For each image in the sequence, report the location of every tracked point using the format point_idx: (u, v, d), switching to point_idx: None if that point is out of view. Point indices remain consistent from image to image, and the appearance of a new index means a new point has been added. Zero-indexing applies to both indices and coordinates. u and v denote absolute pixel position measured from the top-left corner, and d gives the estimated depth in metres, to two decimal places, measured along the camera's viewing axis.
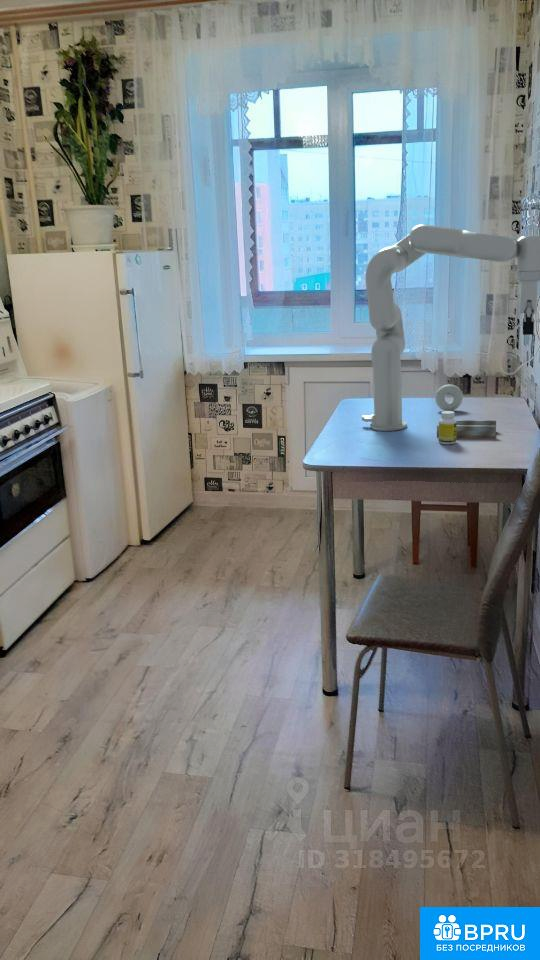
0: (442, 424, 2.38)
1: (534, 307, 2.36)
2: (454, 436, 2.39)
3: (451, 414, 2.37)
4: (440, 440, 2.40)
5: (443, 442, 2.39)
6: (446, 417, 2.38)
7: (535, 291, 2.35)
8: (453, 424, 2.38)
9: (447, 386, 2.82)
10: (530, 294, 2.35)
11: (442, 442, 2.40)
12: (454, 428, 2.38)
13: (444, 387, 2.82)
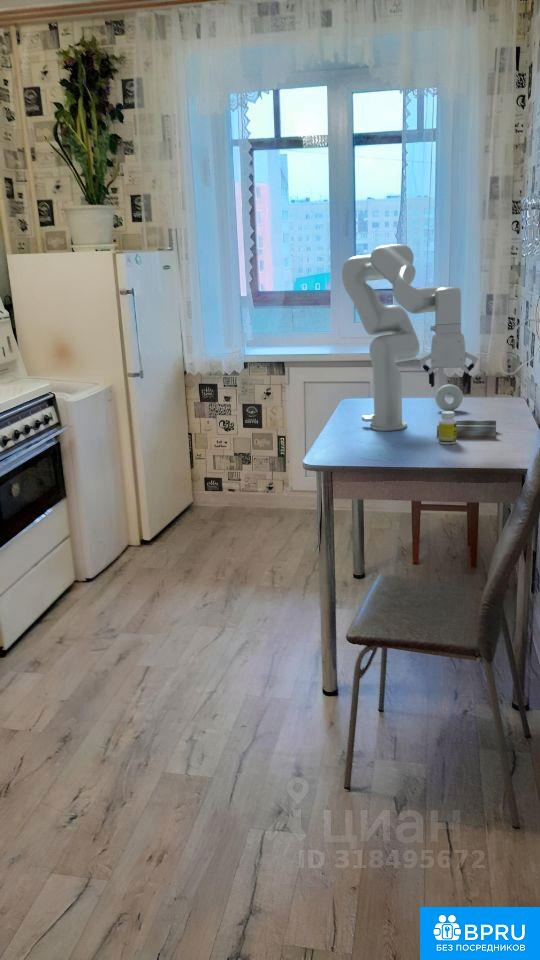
0: (442, 424, 2.38)
1: None
2: (454, 436, 2.39)
3: (451, 414, 2.37)
4: (440, 440, 2.40)
5: (443, 442, 2.39)
6: (446, 417, 2.38)
7: None
8: (453, 424, 2.38)
9: (447, 386, 2.82)
10: None
11: (442, 442, 2.40)
12: (454, 428, 2.38)
13: (444, 387, 2.82)
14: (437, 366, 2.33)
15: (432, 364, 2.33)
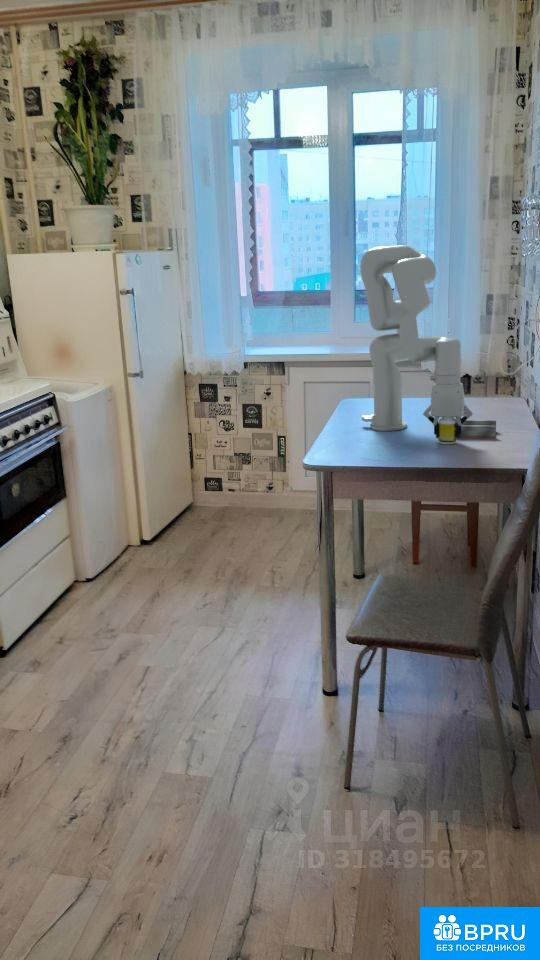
0: (442, 424, 2.38)
1: None
2: (454, 436, 2.39)
3: None
4: (440, 440, 2.40)
5: (443, 442, 2.39)
6: (446, 417, 2.38)
7: None
8: (453, 424, 2.38)
9: None
10: None
11: (442, 442, 2.40)
12: (454, 428, 2.38)
13: None
14: (436, 415, 2.37)
15: (432, 413, 2.38)
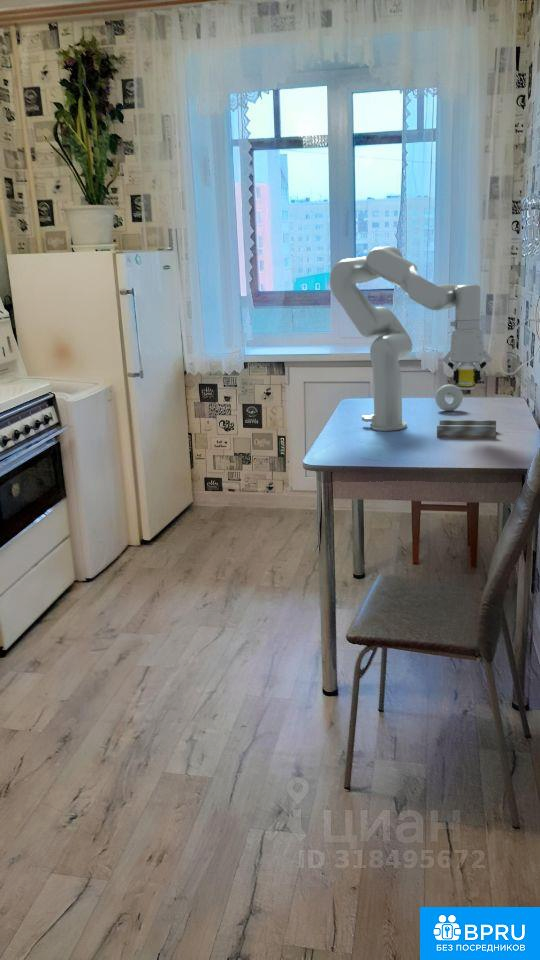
0: (461, 369, 2.42)
1: None
2: (473, 381, 2.43)
3: None
4: (459, 386, 2.44)
5: (462, 387, 2.43)
6: (466, 362, 2.42)
7: None
8: (473, 369, 2.42)
9: (447, 386, 2.82)
10: (483, 340, 2.40)
11: (462, 388, 2.44)
12: (473, 373, 2.42)
13: (444, 387, 2.82)
14: (456, 360, 2.41)
15: (451, 358, 2.42)
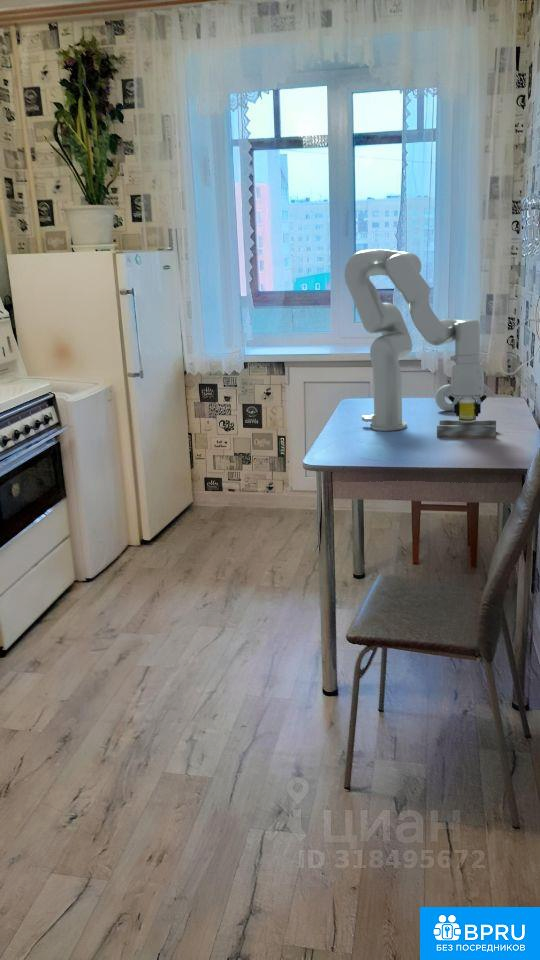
0: (462, 403, 2.45)
1: None
2: (474, 414, 2.46)
3: None
4: (460, 419, 2.47)
5: (463, 420, 2.46)
6: (466, 396, 2.45)
7: None
8: (473, 403, 2.45)
9: (447, 386, 2.82)
10: None
11: (462, 421, 2.47)
12: (474, 407, 2.45)
13: (444, 387, 2.82)
14: (457, 394, 2.44)
15: (452, 392, 2.45)
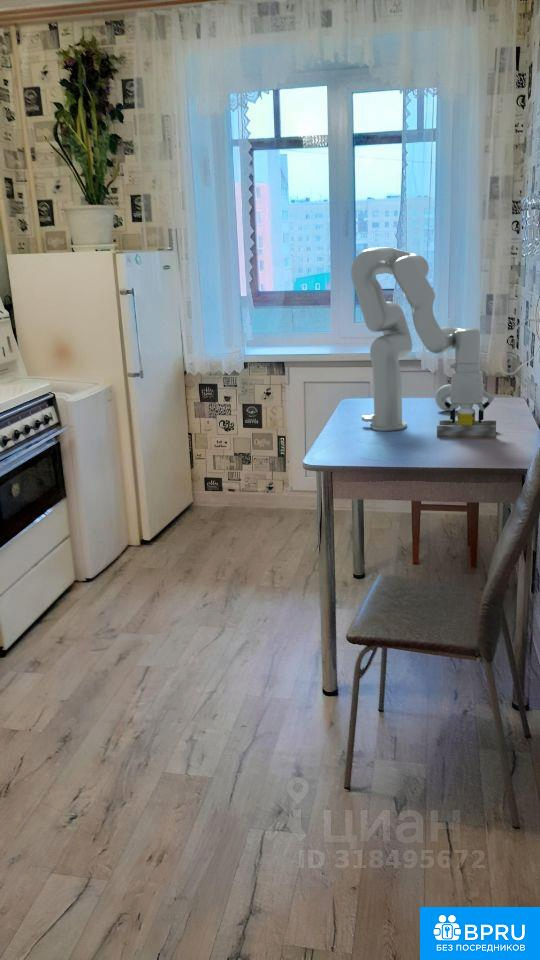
0: (460, 413, 2.46)
1: None
2: None
3: (470, 404, 2.45)
4: None
5: None
6: (465, 407, 2.46)
7: None
8: (472, 414, 2.46)
9: (447, 386, 2.82)
10: None
11: None
12: (472, 418, 2.46)
13: (444, 387, 2.82)
14: (456, 402, 2.45)
15: (451, 400, 2.46)
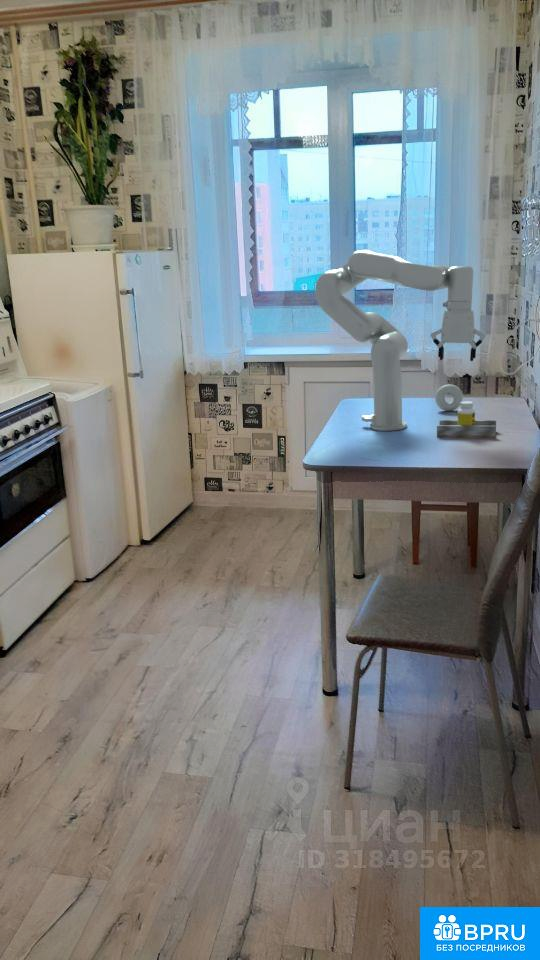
0: (460, 413, 2.46)
1: None
2: None
3: (470, 404, 2.45)
4: None
5: None
6: (465, 407, 2.46)
7: None
8: (472, 414, 2.46)
9: (447, 386, 2.82)
10: None
11: None
12: (473, 418, 2.46)
13: (444, 387, 2.82)
14: (446, 340, 2.47)
15: (442, 338, 2.47)
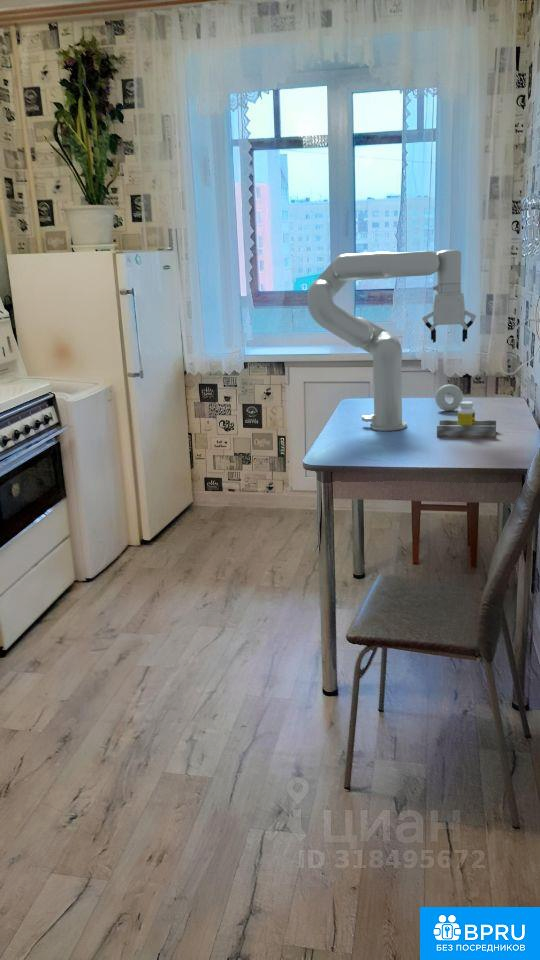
0: (460, 413, 2.46)
1: None
2: None
3: (470, 404, 2.45)
4: None
5: None
6: (465, 407, 2.46)
7: None
8: (472, 414, 2.46)
9: (447, 386, 2.82)
10: (464, 303, 2.52)
11: None
12: (473, 418, 2.46)
13: (444, 387, 2.82)
14: (439, 323, 2.53)
15: (434, 321, 2.54)
